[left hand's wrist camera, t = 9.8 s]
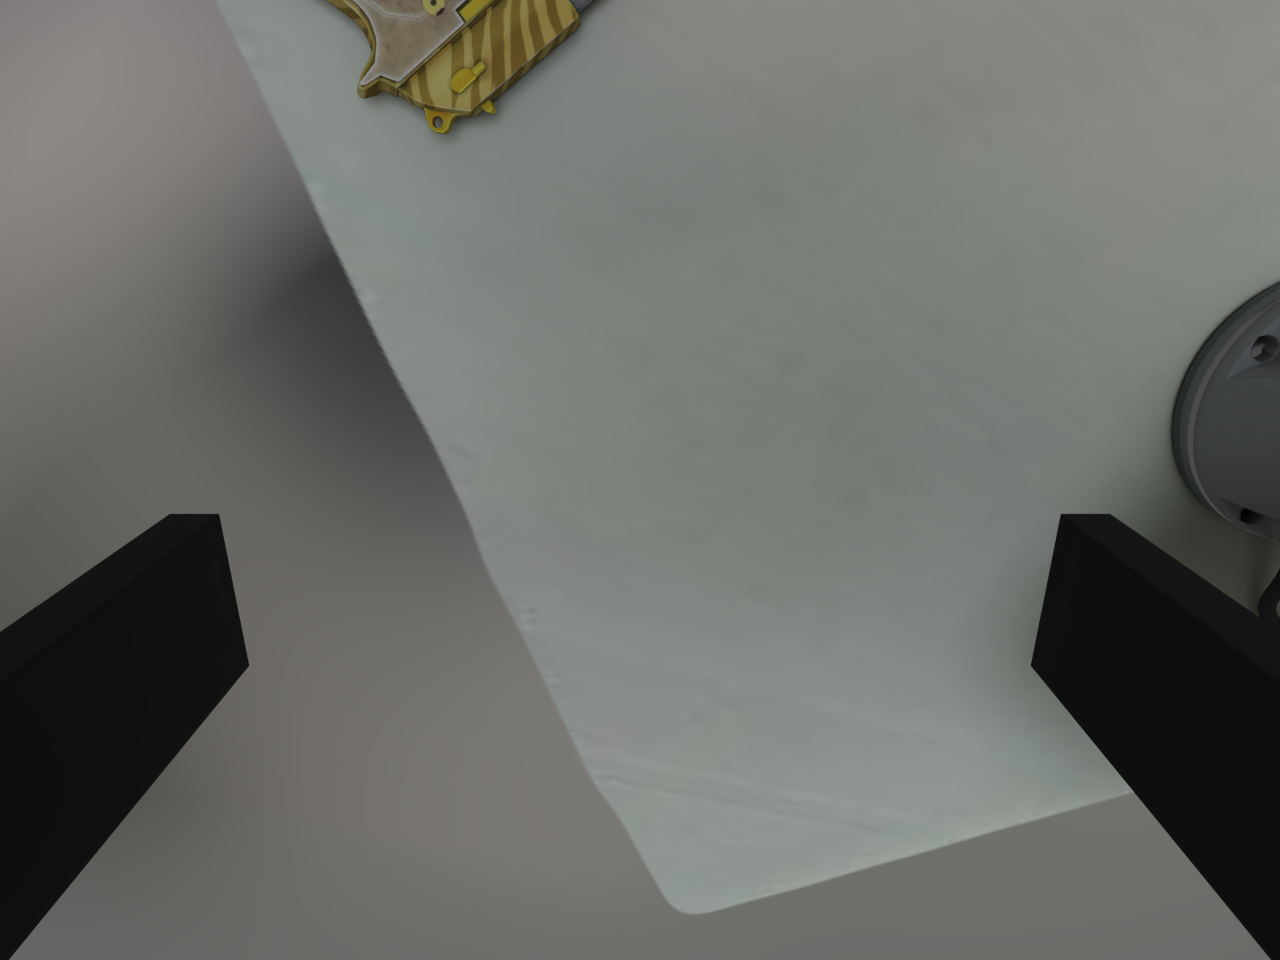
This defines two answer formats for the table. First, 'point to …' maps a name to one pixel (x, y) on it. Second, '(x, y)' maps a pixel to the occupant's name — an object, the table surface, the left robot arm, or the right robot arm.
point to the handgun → (456, 49)
